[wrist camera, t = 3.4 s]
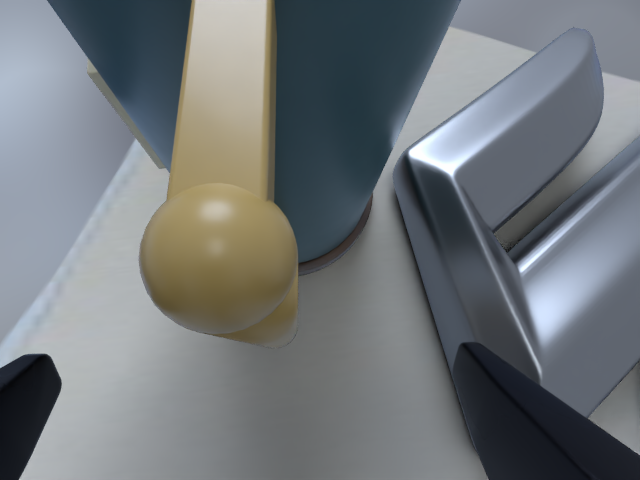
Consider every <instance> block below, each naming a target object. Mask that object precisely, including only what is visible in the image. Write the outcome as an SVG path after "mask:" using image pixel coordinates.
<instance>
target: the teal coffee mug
mask: <svg viewBox="0 0 640 480" xmlns="http://www.w3.org/2000/svg"><path fill="white" fill-rule="evenodd" d="M47 1H48V2H49V3H50V5H51V6H52V8H53V9H54V11H55V12H56V13H57V15H58V16H59V18H60V19H61V20H62V22H63V23H64V25H65V26H66V28H67V29H68V30H69V32H70V33H71V35H72V36H73V37H74V39H75V40H76V42H77V43H78V45H79V46H80V47H81V49H82V50H83V51H84V53H85V54H86V56H87V57H88V67H87V73H88V75H89V76H90V78H91V79H92V80H93V82H94V83H95V84H96V86H97V87H98V88H99V90H100V91H101V92H102V94H103V95H104V96H105V98H106V99H107V100H108V102H109V103H110V104H111V106H112V107H113V108H114V110H115V111H116V112H117V113H118V115H119V116H120V118H121V119H122V120H123V122H124V123H125V124H126V126H127V127H128V128H129V130H130V131H131V132H132V134H133V135H134V136H135V138H136V139H137V140H138V142H139V143H140V144H141V146H142V147H143V148H144V150H145V151H146V152H147V154H148V155H149V156H150V158H151V159H152V160H153V162H154V163H155V164H156V166H157V167H158V168H159V169H162V168H166V169H167V170H168V171H169V173H170V177H169V185H168V193H167V200H166V202H165V203H163V204H162V205H161V206H160V207H159V209H158V210H157V211H156V212H155V214H154V215H153V216H152V218H151V220H150V221H149V223H148V225H147V227H146V229H145V232H144V235H143V238H142V241H141V244H140V252H139V266H140V274H141V277H142V280H143V283H144V286H145V288H146V291H147V293H148V295H149V296H150V298H151V300H152V301H153V303H154V304H155V306H156V307H157V308H158V309H159V310H160V311H161V312H162V313H163V314H164V315H165V316H167V317H168V318H170V319H172V320H173V321H174V322H176V323H177V324H179V325H181V326H183V327H185V328H187V329H190V330H193V331H196V332H200V333H204V334H209V335H213V336H218V337H223V338H227V339H232V340H236V341H241V342H245V343H250V344H255V345H259V346H264V347H268V348H281V347H284V346H286V345H287V344H289V343H290V342H291V341H292V340H293V339H294V337H295V335H296V333H297V329H298V263H301V262H306V261H309V260H312V259H315V258H318V257H320V256H322V255H324V254H326V253H328V252H330V251H331V250H333V249H334V248H336V247H337V246H338V245H340V244H341V243H342V242H343V241H344V240H345V239H346V238H347V237H348V236H349V235H350V234H351V233H352V231H353V230H354V229H355V227H356V225H357V224H358V222H359V221H360V218H361V216H362V214H363V212H364V210H365V207H366V205H367V203H368V201H369V199H370V197H371V194H372V192H373V190H374V188H375V186H376V184H377V181H378V179H379V177H380V175H381V173H382V171H383V168H384V166H385V164H386V162H387V160H388V158H389V155H390V153H391V151H392V149H393V147H394V145H395V142H396V140H397V138H398V136H399V134H400V132H401V129H402V127H403V125H404V123H405V121H406V118H407V116H408V114H409V112H410V110H411V108H412V105H413V103H414V101H415V99H416V97H417V95H418V92H419V90H420V88H421V86H422V84H423V82H424V79H425V77H426V75H427V73H428V71H429V69H430V66H431V64H432V62H433V60H434V58H435V56H436V53H437V51H438V49H439V47H440V45H441V43H442V40H443V38H444V36H445V34H446V32H447V30H448V27H449V25H450V23H451V21H452V19H453V16H454V14H455V12H456V10H457V8H458V5H459V3H460V1H461V0H47Z"/></svg>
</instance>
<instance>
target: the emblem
mask: <svg viewBox="0 0 640 480" xmlns="http://www.w3.org/2000/svg"><path fill="white" fill-rule="evenodd" d="M603 101H604V87H603V78H602V72H601V68H600V63H599V60H598V57H597V54H596V49H595V44H594V40H593V37H592V35H591V34H590V33H589V31H587V30H585V29H579V28H571V29H569V30H568V31H566V32H565V33H563V34H562V35H560V36H559V37H558V38H557V39H555V40H554V41H552V42H551V43H550V44H548V45H547V46H546V47H545V48H543V49H542V50H541V51H539V52H538V53H537V54H535V55H534V56H533V57H531V58H530V59H529V60H528V61H526V62H525V63H524V64H522V65H521V66H520V67H518V68H517V69H516V70H514V71H513V72H512V73H510V74H509V75H508V76H506V77H505V78H504V79H502V80H501V81H500V82H498V83H497V84H495V85H494V86H493V87H491V88H490V89H489V90H487V91H486V92H484V93H483V94H482V95H480V96H479V97H478V98H476V99H475V100H473V101H472V102H471V103H469V104H468V105H466V106H465V107H464V108H462V109H461V110H460V111H458V112H457V113H455V114H454V115H453V116H451V117H450V118H448V119H447V120H446V121H444V122H443V123H441V124H440V125H438V126H437V127H436V128H434V129H433V130H431V131H430V132H429V133H427V134H426V135H424V136H423V137H422V138H420V139H419V140H417V141H416V142H415V143H413V144H412V145H411V146H409V147H408V148H407V149H406V150H405V151H404V152H403V153H402V155H401V156H400V158H399V159H398V161H397V163H396V165H395V168H394V171H393V183H394V187H395V191H396V195H397V198H398V201H399V205H400V208H401V211H402V215H403V218H404V221H405V224H406V228H407V231H408V234H409V237H410V241H411V244H412V247H413V251H414V254H415V257H416V260H417V264H418V267H419V270H420V274H421V277H422V280H423V283H424V287H425V290H426V293H427V296H428V300H429V303H430V306H431V310H432V313H433V316H434V319H435V323H436V326H437V329H438V332H439V336H440V339H441V342H442V346H443V349H444V352H445V355H446V359H447V362H448V365H449V368H450V372H451V375H452V368H453V364H454V360H455V356H456V353H457V349H458V346H459V345H460V343H462V342H479V343H481V344H482V345H484V346H485V347H487V348H488V349H490V350H491V351H492V352H494V353H495V354H497V355H498V356H499V357H501V358H502V359H504V360H505V361H507V362H508V363H509V364H511V365H512V366H514V367H515V368H516V369H518V370H519V371H521V372H522V373H524V374H525V375H526V376H528V377H529V378H531V379H532V380H533V381H535V382H536V383H538V384H539V385H540V386H542V387H543V388H545V389H546V390H548V391H549V392H550V393H552V394H553V395H555V396H556V397H557V398H559V399H560V400H562V401H563V402H565V403H566V404H567V405H569V406H570V407H572V408H573V409H574V410H576V411H577V412H579V413H580V414H582V415H583V416H584V417H586V418H588V417H589V416H590V415H591V414H592V413H593V411H594V410H595V409H596V408H597V407H598V406H599V405H600V404H601V403H602V402H603V400H604V399H605V398H606V397H607V396H608V395H609V394H610V393H611V392H612V391H613V389H614V388H615V387H616V386H617V385H618V384H619V383H620V382H621V381H622V379H623V378H624V377H625V376H626V375H627V374H628V373H629V372H630V371H631V370H632V368H633V367H634V366H635V365H636V364H637V363H638V362H639V361H640V136H639V137H638V138H637V139H635V140H634V141H633V142H632V143H631V144H630V145H629V146H627V147H626V148H625V149H624V150H623V151H622V152H621V153H619V154H618V155H617V156H616V157H615V158H614V159H613V160H611V161H610V162H609V163H608V164H607V165H606V166H605V167H603V168H602V169H601V170H600V171H599V172H598V173H597V174H596V175H594V176H593V177H592V178H591V179H590V180H589V181H588V182H586V183H585V184H584V185H583V186H582V187H581V188H580V189H579V190H577V191H576V192H575V193H574V194H573V195H572V196H571V197H569V198H568V199H567V200H566V201H565V202H564V203H563V204H562V205H560V206H559V207H558V208H557V209H556V210H555V211H554V212H553V213H551V214H550V215H549V216H548V217H547V218H546V219H545V220H544V221H542V222H541V223H540V224H539V225H538V226H537V227H536V228H534V229H533V230H532V231H531V232H530V233H529V234H528V235H527V236H525V237H524V238H523V239H522V240H521V241H520V242H519V243H518V244H516V245H515V246H514V247H513V248H512V249H511V250H510V251H509V252H507V253H506V251H505V250H504V249H503V247H502V246H501V244H500V243H499V241H498V240H497V239H496V237H495V236H494V233H495V232H496V231H497V230H498V229H499V228H500V227H502V226H503V225H504V224H505V223H506V222H507V221H508V220H510V219H511V218H512V217H513V216H514V215H515V214H517V213H518V212H519V211H520V210H521V209H522V208H523V207H524V206H526V205H527V204H528V203H529V202H530V201H531V200H532V199H533V198H535V197H536V196H537V195H538V194H539V193H540V192H541V191H542V190H543V189H544V188H546V187H547V186H548V185H549V184H550V183H551V182H552V181H553V180H554V179H555V178H556V177H557V176H558V175H559V174H560V173H561V172H562V171H563V170H564V169H565V168H566V167H567V166H568V165H569V164H570V163H571V162H572V161H573V160H574V158H575V157H576V156H577V155H578V154H579V153H580V152H581V150H582V149H583V148H584V147H585V145H586V144H587V143H588V141H589V140H590V138H591V137H592V135H593V133H594V131H595V130H596V128H597V125H598V123H599V120H600V117H601V114H602V109H603ZM452 378H453V375H452ZM453 382H454V379H453ZM454 385H455V383H454ZM455 388H456V386H455ZM456 391H457V389H456ZM457 395H458V392H457ZM458 398H459V395H458ZM459 401H460V398H459ZM460 404H461V402H460ZM461 408H462V405H461ZM462 411H463V408H462ZM463 414H464V411H463ZM464 418H465V421H466V417H465V414H464ZM466 424H467V421H466ZM467 427H468V424H467ZM468 430H469V427H468ZM469 433H470V430H469ZM470 436H471V433H470ZM471 439H472V436H471ZM472 442H473V439H472ZM473 445H474V442H473ZM474 447H475V445H474ZM475 449H476V448H475ZM476 451H477V450H476Z"/></svg>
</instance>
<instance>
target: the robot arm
mask: <svg viewBox="0 0 640 480" xmlns="http://www.w3.org/2000/svg"><path fill="white" fill-rule="evenodd" d="M452 375H453V379H454V383H455V386H456V389H457V392H458V395H459V398H460V402H461V405H462V408H463V411H464V414H465V417H466V421H467V424H468V427H469V430H470V433H471V436H472V439H473V442H474V445H475V448H476V450H477V453H478V455H479V458H480V460H481V462H482V465H483V467H484V469H485V472H486V474H487V476H488V479H489V480H640V455H638V454H637V453H635V452H634V451H632V450H631V449H630V448H628V447H627V446H625V445H624V444H623V443H621V442H620V441H618V440H617V439H616V438H614V437H613V436H611V435H610V434H608V433H607V432H606V431H604V430H603V429H601V428H600V427H599V426H597V425H596V424H594V423H593V422H591V421H590V420H589V419H587V418H586V417H584V416H583V415H582V414H580V413H579V412H577V411H576V410H574V409H573V408H572V407H570V406H569V405H567V404H566V403H565V402H563V401H562V400H560V399H559V398H557V397H556V396H555V395H553V394H552V393H550V392H549V391H548V390H546V389H545V388H543V387H542V386H540V385H539V384H538V383H536V382H535V381H533V380H532V379H531V378H529V377H528V376H526V375H525V374H524V373H522V372H521V371H519V370H518V369H516V368H515V367H514V366H512V365H511V364H509V363H508V362H507V361H505V360H504V359H502V358H501V357H499V356H498V355H497V354H495V353H494V352H492V351H491V350H490V349H488V348H487V347H485V346H484V345H482V344H481V343H479V342H462V343H460V345H459V346H458V349H457V353H456V356H455V360H454V364H453V368H452ZM61 385H62V383H61V378H60V376H59V374H58V372H57V369H56V367H55V365H54V363H53V360H52V358H51V357H50V356H49V355H47V354H27V355H23V356H21V357H19V358H18V359H16V360H14V361H12V362H11V363H9V364H7V365H5V366H4V367H2V368H0V480H19V478H20V476H21V475H22V473H23V471H24V469H25V467H26V465H27V463H28V461H29V459H30V457H31V455H32V453H33V451H34V448H35V446H36V444H37V442H38V440H39V437H40V435H41V433H42V431H43V429H44V426H45V424H46V422H47V420H48V418H49V415H50V413H51V411H52V409H53V407H54V404H55V402H56V400H57V398H58V396H59V393H60V391H61Z"/></svg>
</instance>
